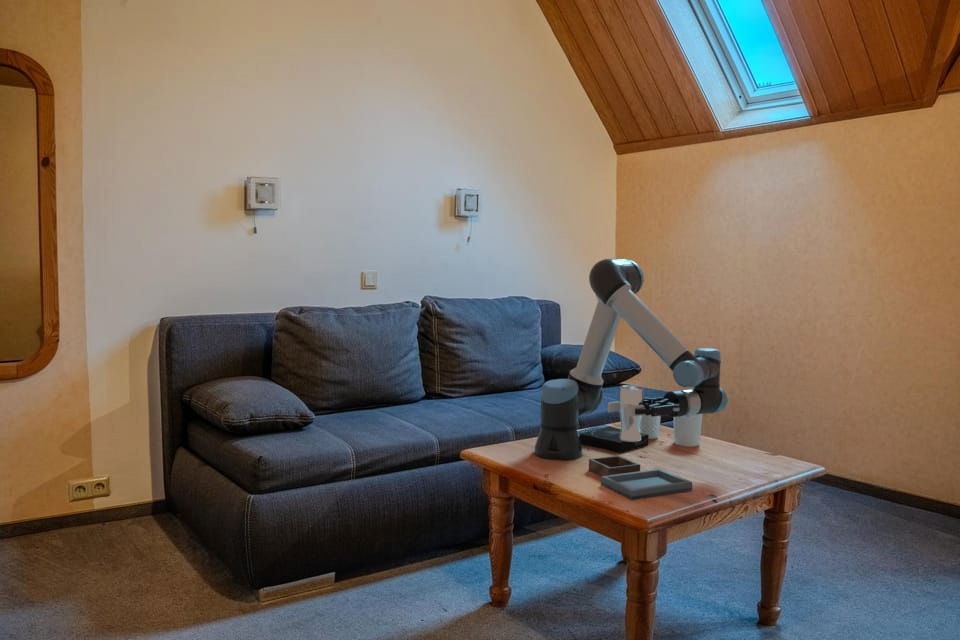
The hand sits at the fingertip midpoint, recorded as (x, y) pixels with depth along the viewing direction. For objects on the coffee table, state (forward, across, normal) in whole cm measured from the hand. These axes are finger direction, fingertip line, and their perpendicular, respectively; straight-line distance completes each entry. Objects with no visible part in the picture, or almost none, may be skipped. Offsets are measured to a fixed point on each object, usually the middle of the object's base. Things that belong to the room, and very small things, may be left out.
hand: (616, 409), depth 209 cm
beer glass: (-5, 0, -9) cm, 10 cm away
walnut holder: (-4, +6, -20) cm, 22 cm away
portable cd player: (-25, +35, -21) cm, 48 cm away
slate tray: (-4, -9, -20) cm, 23 cm away
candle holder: (-49, +26, -21) cm, 59 cm away
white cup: (-43, +39, -21) cm, 61 cm away
